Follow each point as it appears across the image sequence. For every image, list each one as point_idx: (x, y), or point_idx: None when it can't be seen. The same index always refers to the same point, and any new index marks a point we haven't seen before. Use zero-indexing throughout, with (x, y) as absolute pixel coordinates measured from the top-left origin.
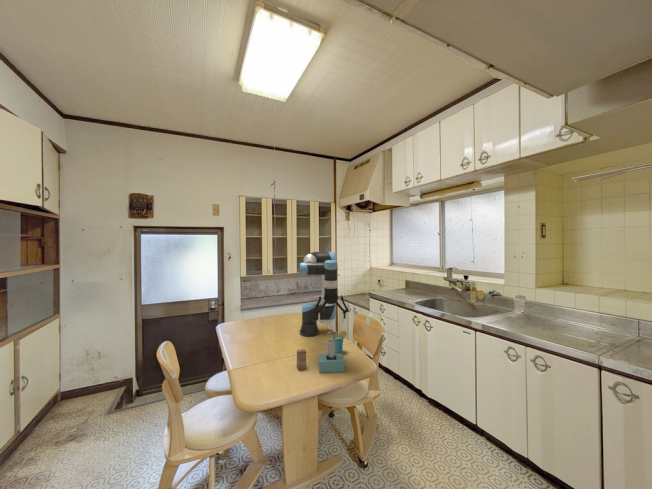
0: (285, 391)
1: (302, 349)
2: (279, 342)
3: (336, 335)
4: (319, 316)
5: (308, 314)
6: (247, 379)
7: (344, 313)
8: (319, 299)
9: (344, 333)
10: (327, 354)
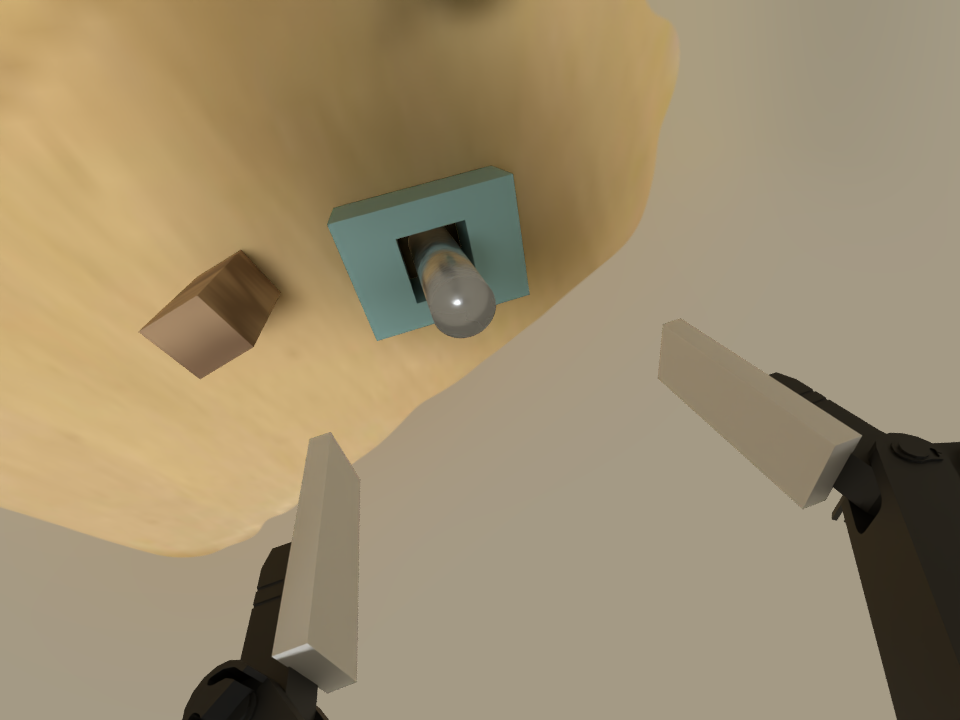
0: (287, 469)
1: (193, 318)
2: None
3: None
4: (351, 622)
5: None
6: (12, 464)
7: (839, 510)
8: None
9: None
10: (401, 220)
